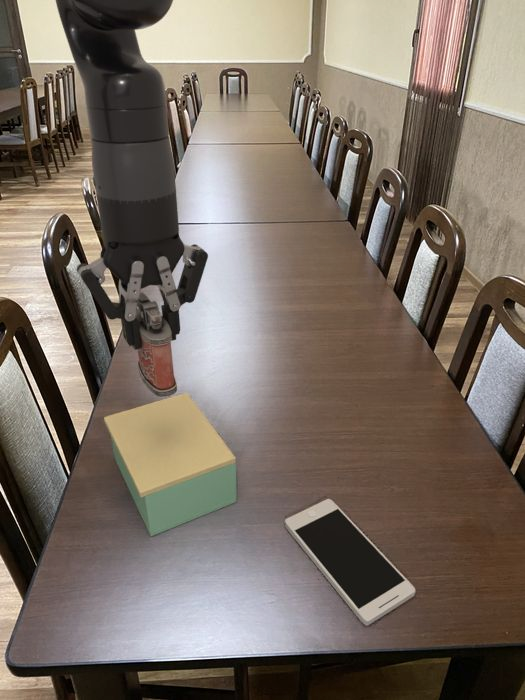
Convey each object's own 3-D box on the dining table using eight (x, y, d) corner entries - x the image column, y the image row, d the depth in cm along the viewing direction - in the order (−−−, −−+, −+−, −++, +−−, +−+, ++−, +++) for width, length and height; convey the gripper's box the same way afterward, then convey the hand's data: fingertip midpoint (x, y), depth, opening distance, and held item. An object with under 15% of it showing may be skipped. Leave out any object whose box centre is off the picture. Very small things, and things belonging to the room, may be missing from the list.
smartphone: (329, 502, 70) (329, 497, 69) (416, 595, 58) (417, 589, 58) (283, 524, 66) (283, 519, 66) (365, 627, 55) (366, 622, 55)
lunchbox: (150, 537, 65) (144, 496, 61) (114, 458, 76) (107, 420, 73) (236, 502, 70) (236, 463, 66) (190, 433, 81) (187, 396, 78)
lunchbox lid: (140, 498, 61) (139, 492, 61) (104, 421, 73) (103, 417, 72) (236, 462, 66) (235, 457, 66) (187, 396, 78) (187, 392, 77)
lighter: (183, 392, 61) (176, 313, 56) (154, 400, 59) (144, 320, 54) (159, 358, 67) (150, 285, 62) (132, 365, 65) (121, 291, 60)
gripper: (68, 206, 46) (99, 374, 55) (219, 187, 52) (224, 341, 60) (52, 186, 51) (82, 341, 60) (189, 170, 57) (198, 314, 66)
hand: (153, 341), depth 60 cm, fingers closed on lighter, 3 cm apart
